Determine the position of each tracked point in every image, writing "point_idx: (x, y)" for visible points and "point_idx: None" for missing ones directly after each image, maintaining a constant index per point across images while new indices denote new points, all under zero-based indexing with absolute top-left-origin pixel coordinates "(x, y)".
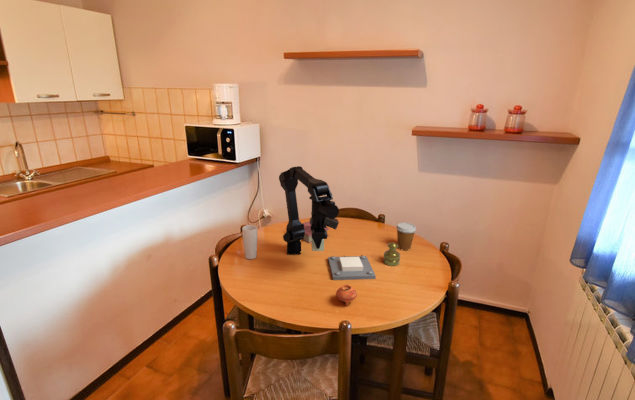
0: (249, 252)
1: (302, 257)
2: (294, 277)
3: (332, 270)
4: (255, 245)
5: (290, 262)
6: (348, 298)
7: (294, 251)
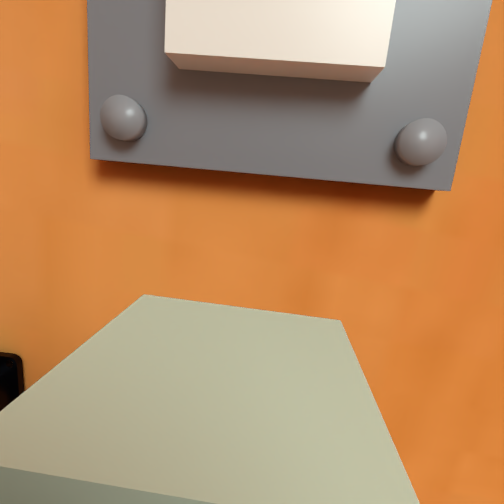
0: None
1: (66, 346)
2: None
3: (339, 173)
4: None
5: None
6: None
7: (1, 404)
